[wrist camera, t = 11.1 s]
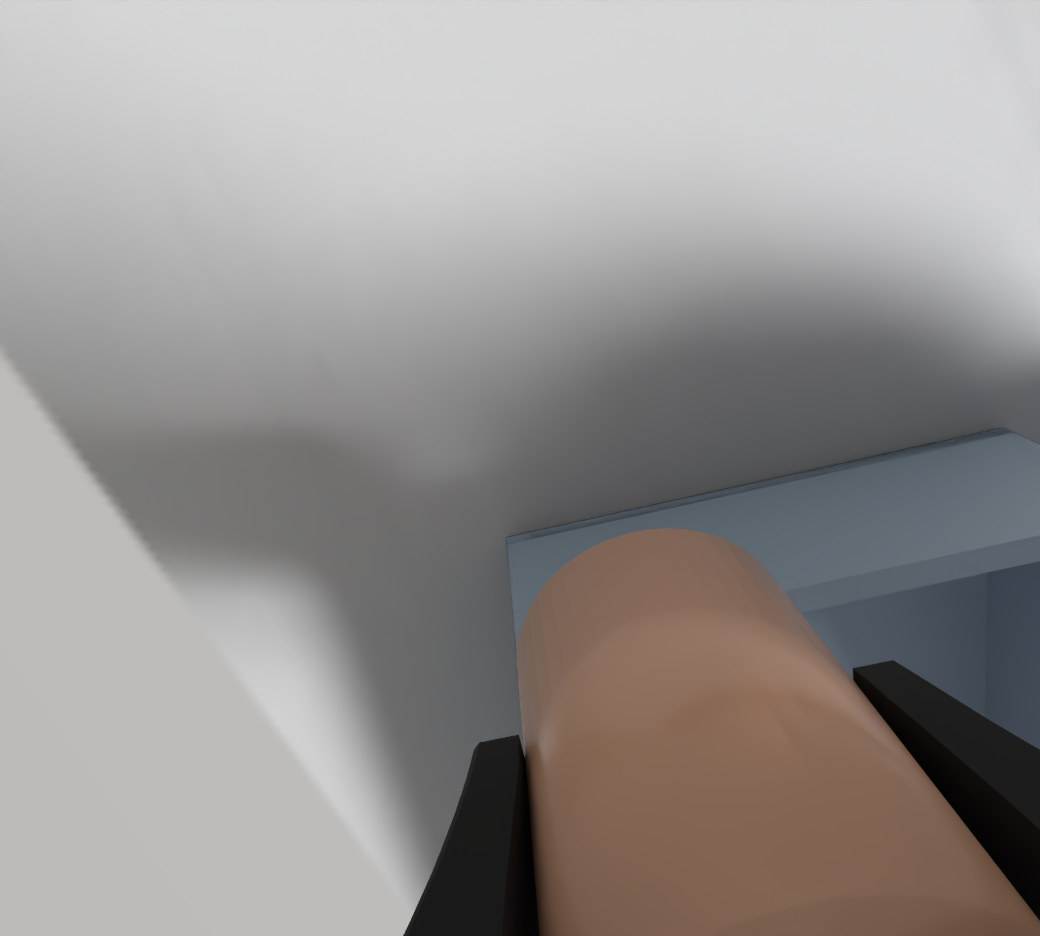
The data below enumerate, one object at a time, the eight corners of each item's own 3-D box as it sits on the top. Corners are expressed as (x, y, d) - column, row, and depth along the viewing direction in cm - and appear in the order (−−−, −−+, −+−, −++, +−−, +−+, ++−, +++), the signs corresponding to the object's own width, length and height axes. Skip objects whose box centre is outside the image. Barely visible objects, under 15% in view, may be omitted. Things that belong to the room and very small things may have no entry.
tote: (1003, 427, 19) (1173, 506, 15) (991, 892, 25) (1106, 1052, 21) (505, 537, 20) (516, 649, 15) (614, 970, 26) (645, 1144, 21)
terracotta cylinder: (774, 497, 12) (1108, 834, 6) (806, 732, 14) (1090, 1195, 8) (485, 567, 13) (494, 974, 6) (551, 791, 14) (613, 1296, 8)
